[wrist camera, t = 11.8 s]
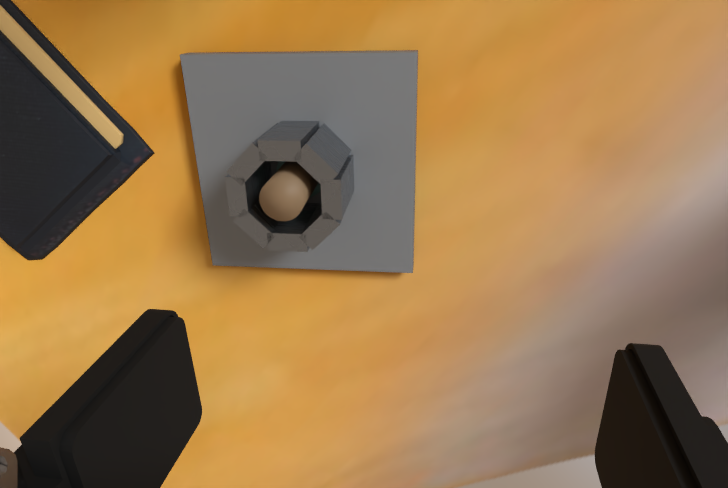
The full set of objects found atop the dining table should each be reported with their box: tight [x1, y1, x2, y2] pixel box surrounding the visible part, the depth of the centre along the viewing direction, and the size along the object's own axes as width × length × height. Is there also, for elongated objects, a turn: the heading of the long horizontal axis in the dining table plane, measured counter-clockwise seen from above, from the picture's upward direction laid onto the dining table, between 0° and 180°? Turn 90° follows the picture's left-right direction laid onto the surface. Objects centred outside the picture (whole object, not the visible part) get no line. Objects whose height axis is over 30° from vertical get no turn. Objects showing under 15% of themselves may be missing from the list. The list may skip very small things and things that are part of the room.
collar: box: [225, 121, 354, 252], centre depth 31 cm, size 6×6×5 cm
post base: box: [180, 50, 418, 273], centre depth 32 cm, size 14×14×7 cm
